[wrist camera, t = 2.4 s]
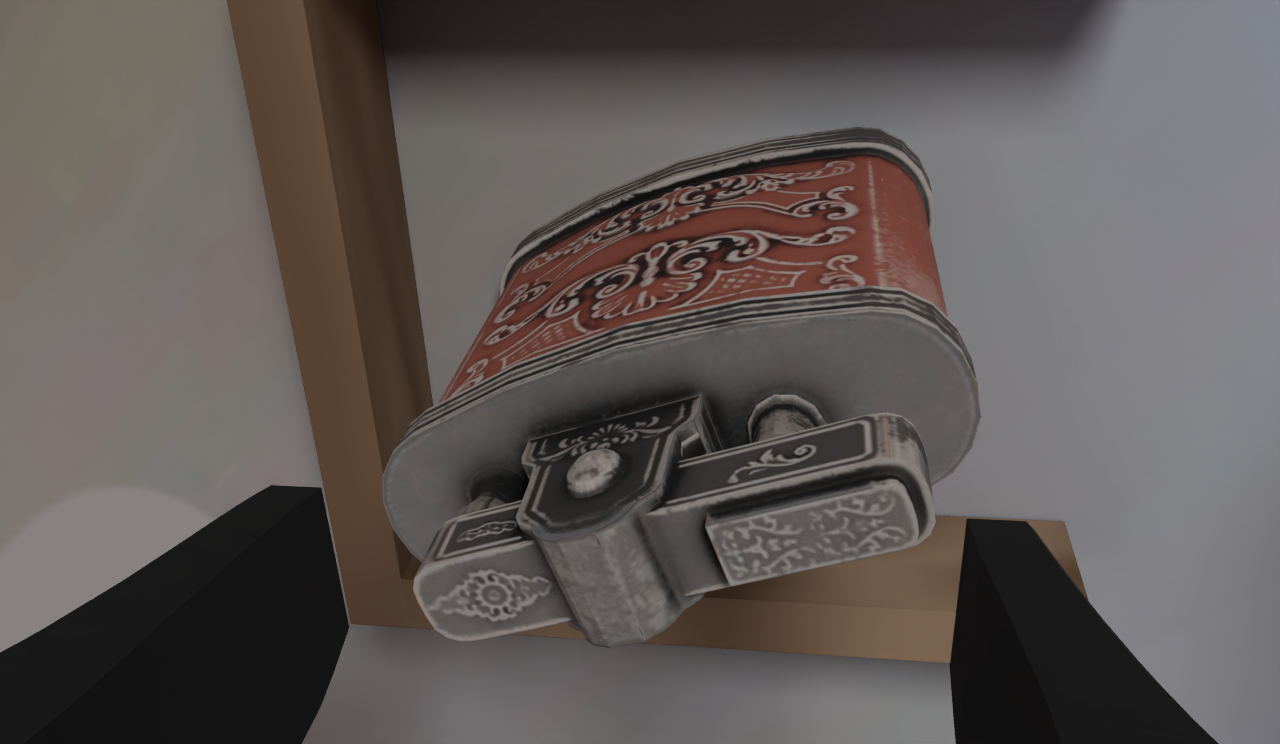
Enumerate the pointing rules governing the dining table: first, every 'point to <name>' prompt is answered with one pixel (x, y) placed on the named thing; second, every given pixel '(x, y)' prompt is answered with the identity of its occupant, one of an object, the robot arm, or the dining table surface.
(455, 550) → the lighter
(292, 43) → the wooden u-shaped frame
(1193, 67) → the dining table surface
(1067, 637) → the robot arm
